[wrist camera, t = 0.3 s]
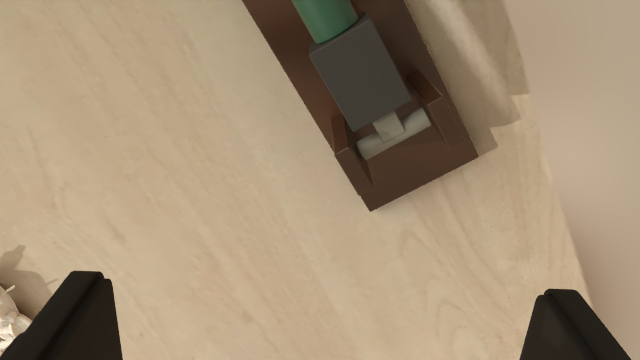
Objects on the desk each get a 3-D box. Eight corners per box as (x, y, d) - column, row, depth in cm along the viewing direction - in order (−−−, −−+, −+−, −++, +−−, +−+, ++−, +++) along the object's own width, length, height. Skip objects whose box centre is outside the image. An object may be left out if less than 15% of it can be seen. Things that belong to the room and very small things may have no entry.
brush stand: (158, -144, 24) (105, -178, 18) (286, -237, 22) (275, -308, 16) (368, 204, 31) (381, 263, 25) (474, 151, 30) (514, 199, 24)
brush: (193, -144, 21) (174, -160, 18) (266, -197, 20) (258, -221, 18) (362, 149, 26) (368, 171, 24) (425, 115, 26) (438, 134, 23)
